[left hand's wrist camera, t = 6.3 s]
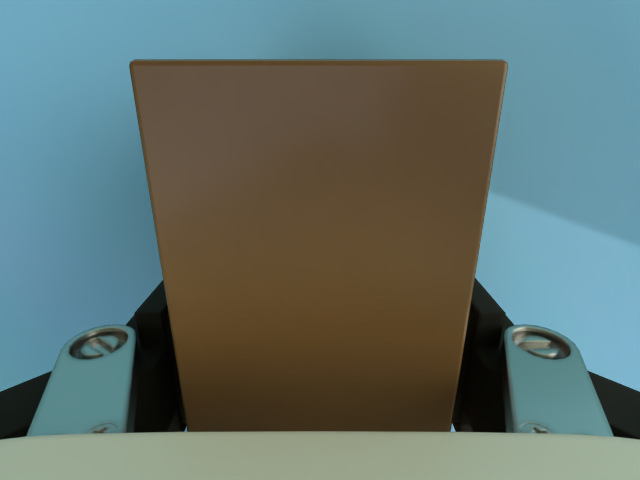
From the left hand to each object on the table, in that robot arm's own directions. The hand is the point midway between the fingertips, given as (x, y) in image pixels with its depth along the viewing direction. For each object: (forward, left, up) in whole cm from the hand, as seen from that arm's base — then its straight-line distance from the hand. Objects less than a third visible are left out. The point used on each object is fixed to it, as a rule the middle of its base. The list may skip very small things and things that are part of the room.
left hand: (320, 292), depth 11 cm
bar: (+26, +19, -3) cm, 33 cm away
